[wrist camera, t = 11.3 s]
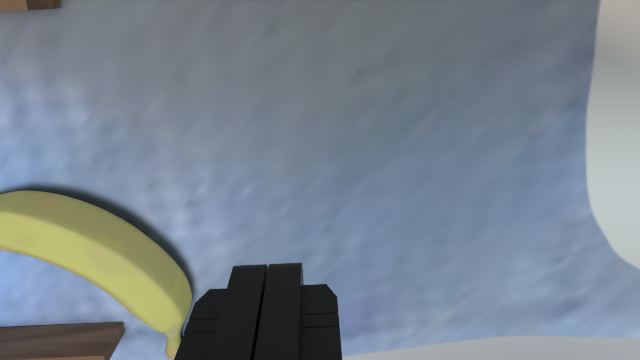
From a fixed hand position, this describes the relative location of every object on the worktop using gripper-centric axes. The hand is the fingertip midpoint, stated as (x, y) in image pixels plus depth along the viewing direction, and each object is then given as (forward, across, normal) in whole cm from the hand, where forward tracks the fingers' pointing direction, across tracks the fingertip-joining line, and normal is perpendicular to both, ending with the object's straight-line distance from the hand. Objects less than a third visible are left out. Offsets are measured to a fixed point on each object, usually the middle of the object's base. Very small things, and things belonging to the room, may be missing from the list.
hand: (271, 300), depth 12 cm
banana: (+30, +18, +15) cm, 38 cm away
